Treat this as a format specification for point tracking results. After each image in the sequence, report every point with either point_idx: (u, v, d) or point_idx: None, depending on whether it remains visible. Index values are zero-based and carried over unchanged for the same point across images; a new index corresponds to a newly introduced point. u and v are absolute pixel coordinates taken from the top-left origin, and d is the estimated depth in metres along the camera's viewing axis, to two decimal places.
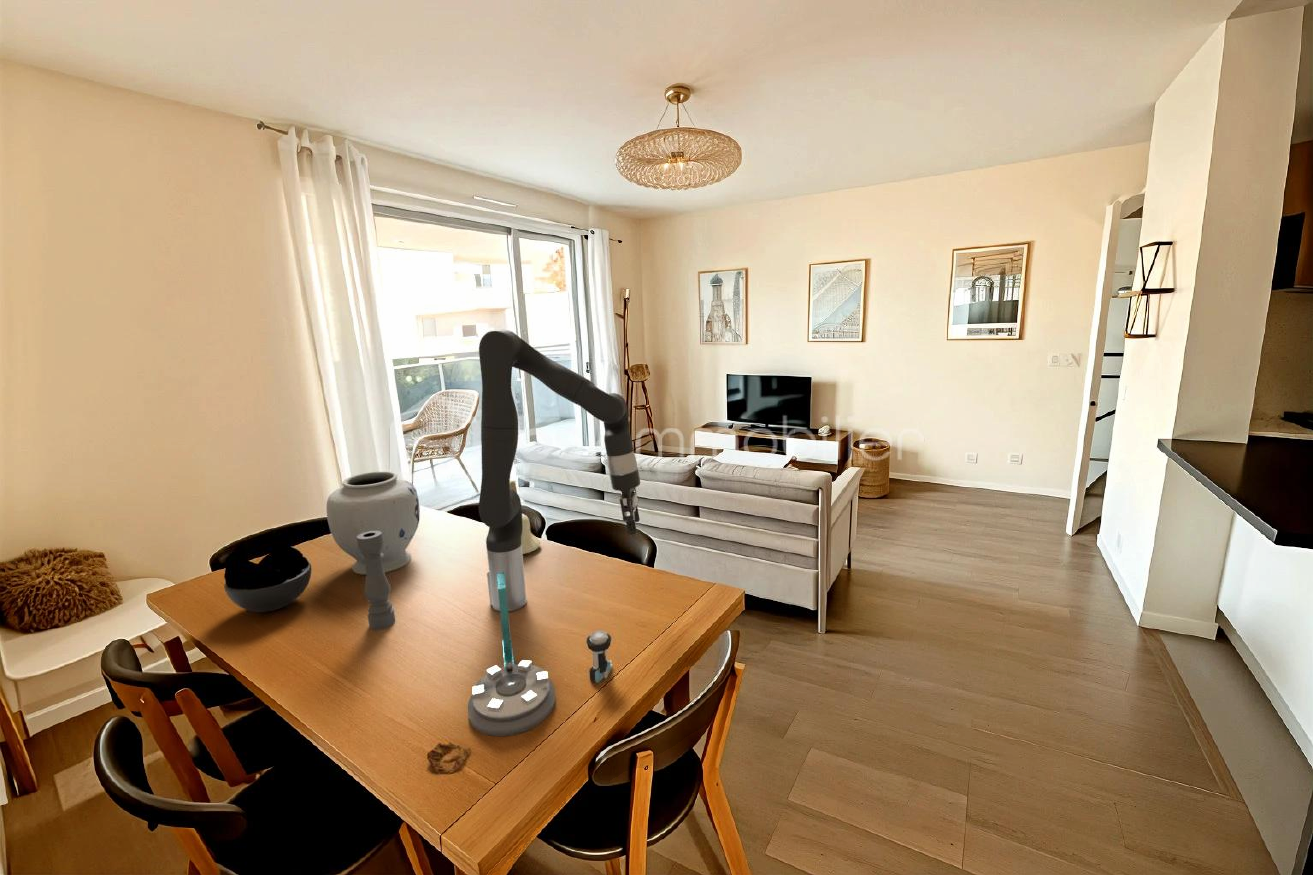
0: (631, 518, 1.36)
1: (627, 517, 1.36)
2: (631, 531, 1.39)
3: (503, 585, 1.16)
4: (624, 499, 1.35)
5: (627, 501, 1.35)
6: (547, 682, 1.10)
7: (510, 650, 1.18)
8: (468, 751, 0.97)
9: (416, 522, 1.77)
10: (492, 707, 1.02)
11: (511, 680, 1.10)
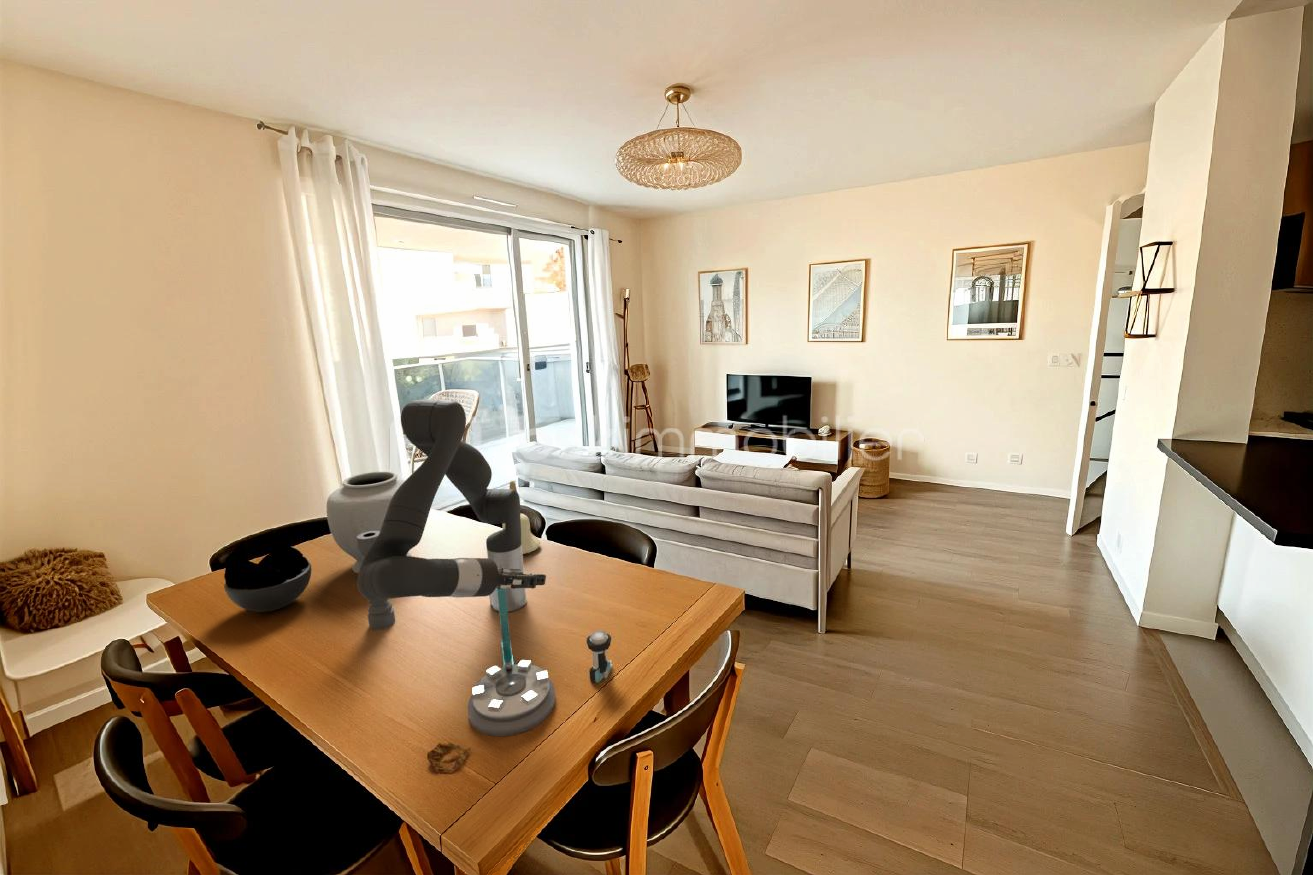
0: None
1: None
2: None
3: None
4: None
5: None
6: (547, 682, 1.10)
7: (509, 650, 1.18)
8: (468, 751, 0.97)
9: None
10: (492, 707, 1.02)
11: (511, 680, 1.10)
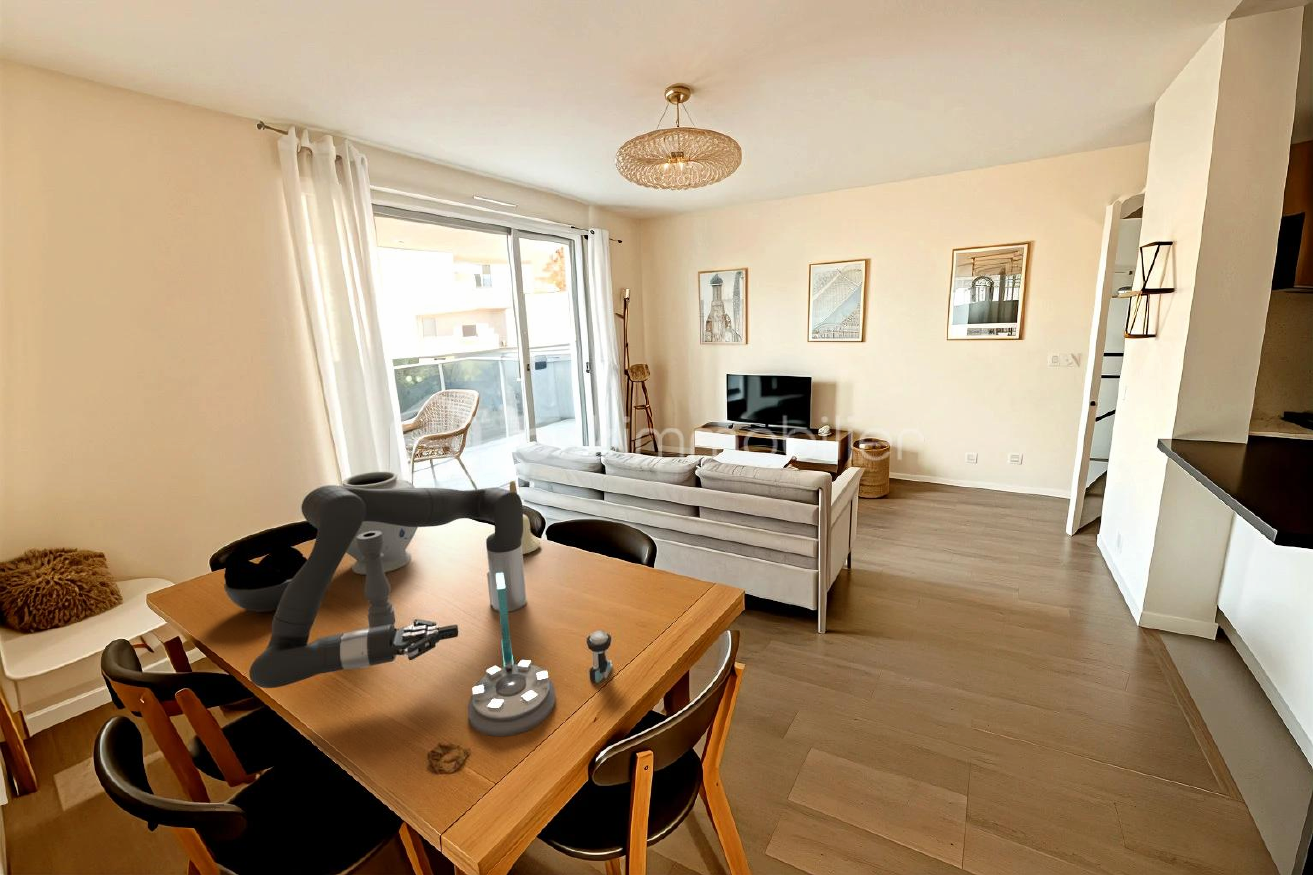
0: None
1: None
2: None
3: (502, 585, 1.16)
4: None
5: None
6: (547, 682, 1.10)
7: (509, 650, 1.18)
8: (468, 751, 0.97)
9: None
10: (492, 707, 1.02)
11: (511, 680, 1.10)
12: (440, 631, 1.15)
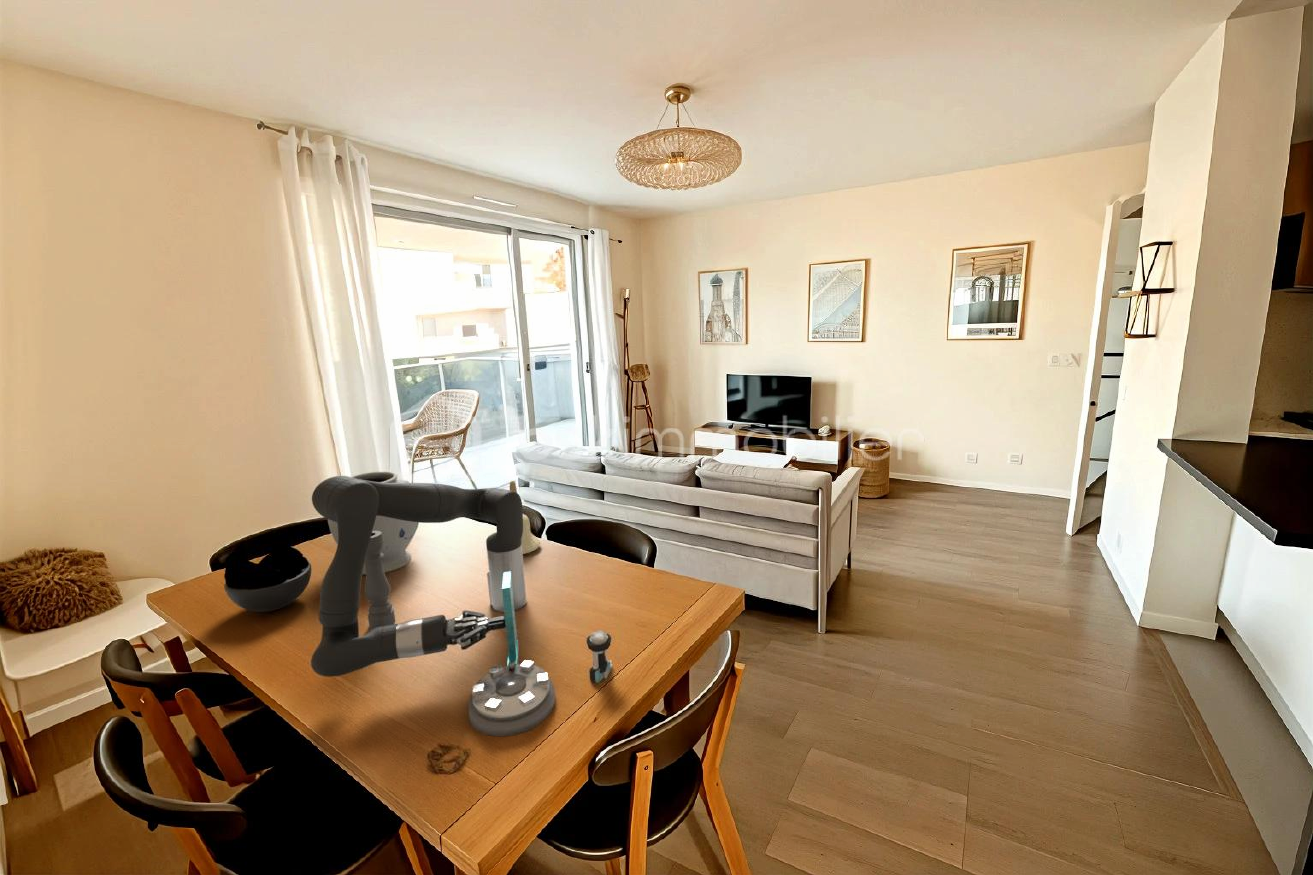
0: None
1: None
2: None
3: (508, 584, 1.16)
4: None
5: None
6: (547, 684, 1.09)
7: (514, 649, 1.18)
8: (468, 751, 0.97)
9: (416, 522, 1.77)
10: (489, 706, 1.02)
11: (511, 680, 1.10)
12: (490, 622, 1.18)
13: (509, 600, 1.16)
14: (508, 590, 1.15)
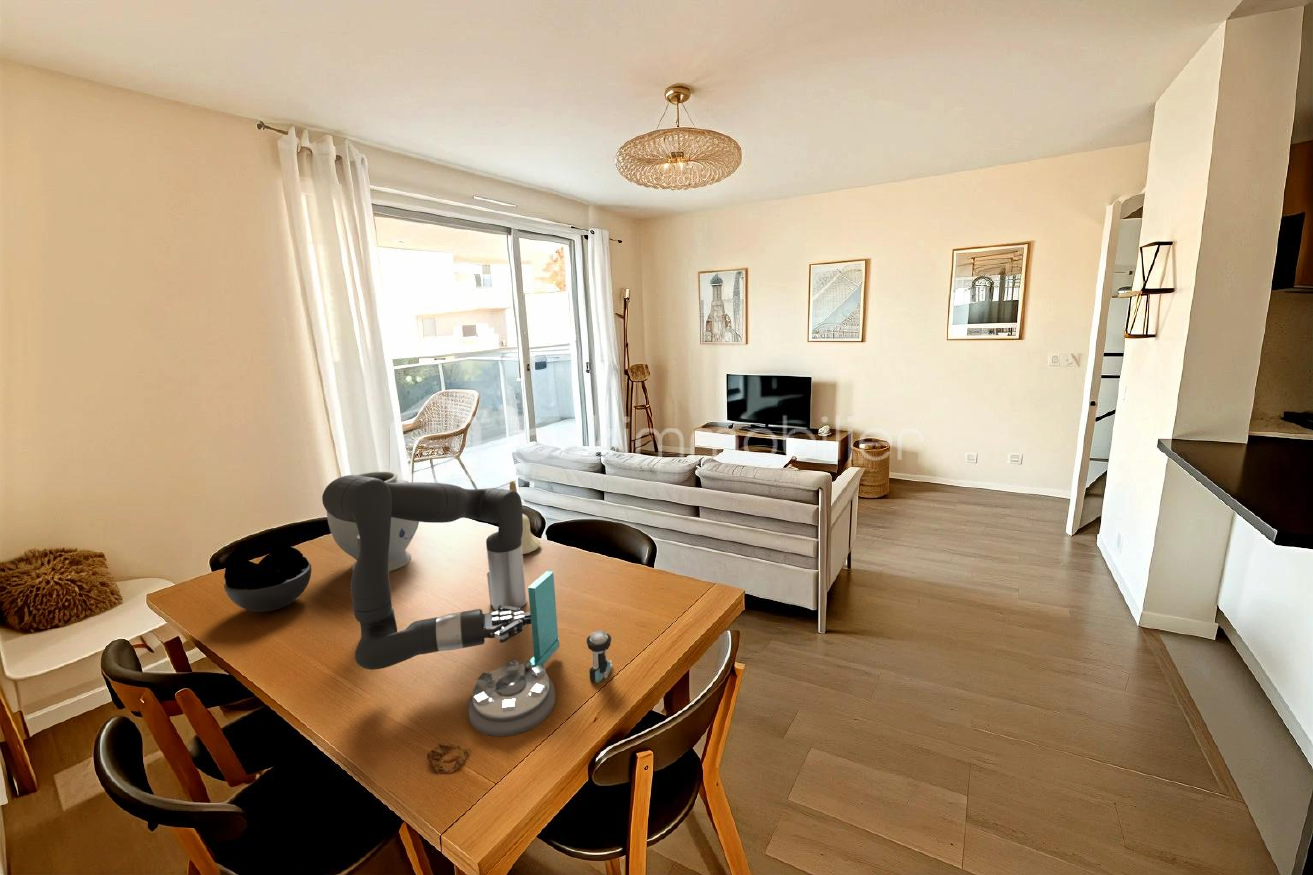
0: None
1: None
2: None
3: (536, 585, 1.16)
4: None
5: None
6: (538, 697, 1.05)
7: (538, 650, 1.18)
8: (468, 751, 0.97)
9: (416, 522, 1.77)
10: (475, 699, 1.04)
11: (513, 680, 1.09)
12: (526, 616, 1.20)
13: (534, 601, 1.15)
14: (533, 590, 1.15)
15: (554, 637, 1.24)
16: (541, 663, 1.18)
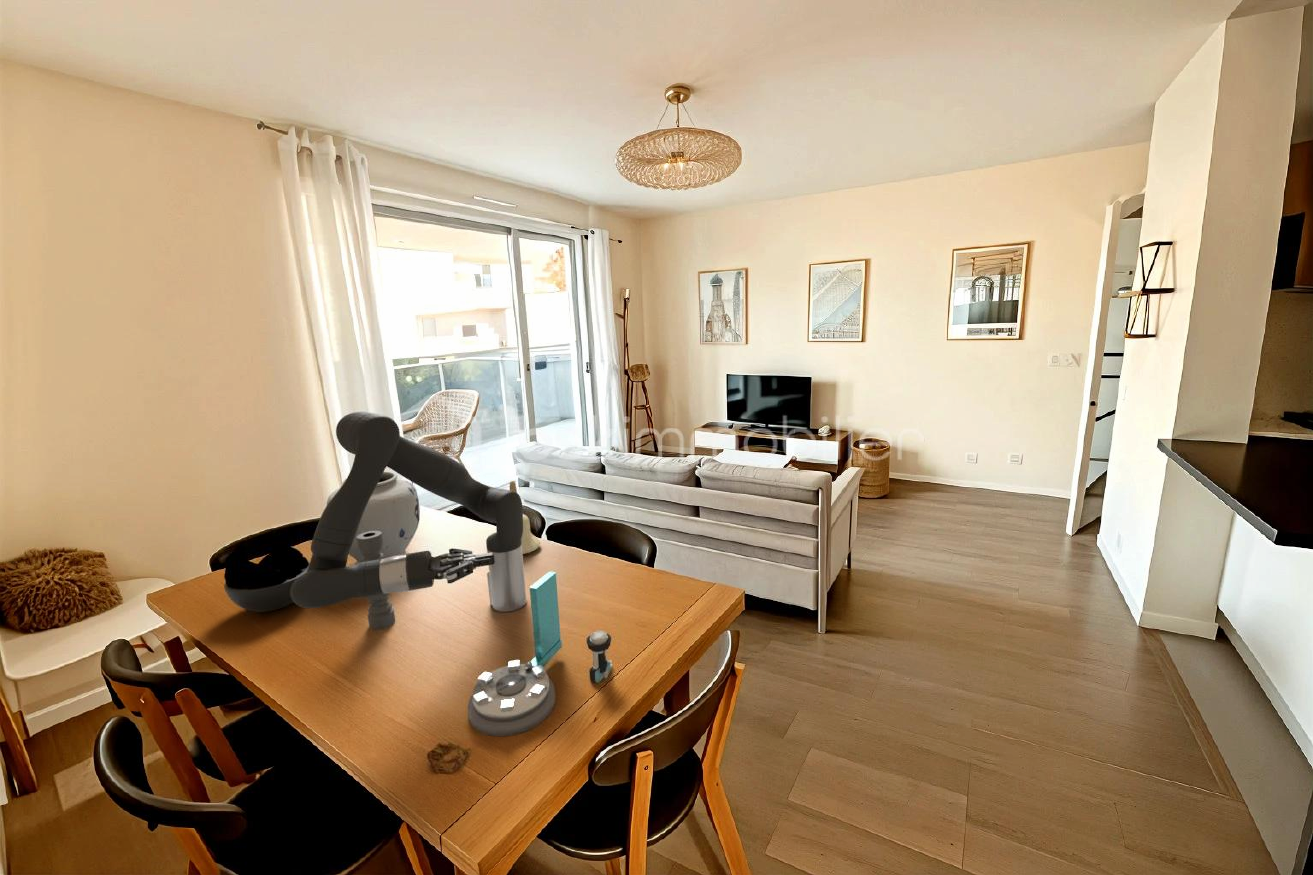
0: None
1: None
2: None
3: (537, 585, 1.16)
4: None
5: None
6: (537, 698, 1.05)
7: (540, 651, 1.17)
8: (468, 751, 0.97)
9: (416, 522, 1.77)
10: (475, 698, 1.04)
11: (513, 680, 1.09)
12: (477, 558, 1.14)
13: (535, 601, 1.15)
14: (534, 591, 1.15)
15: (556, 638, 1.23)
16: (542, 663, 1.18)
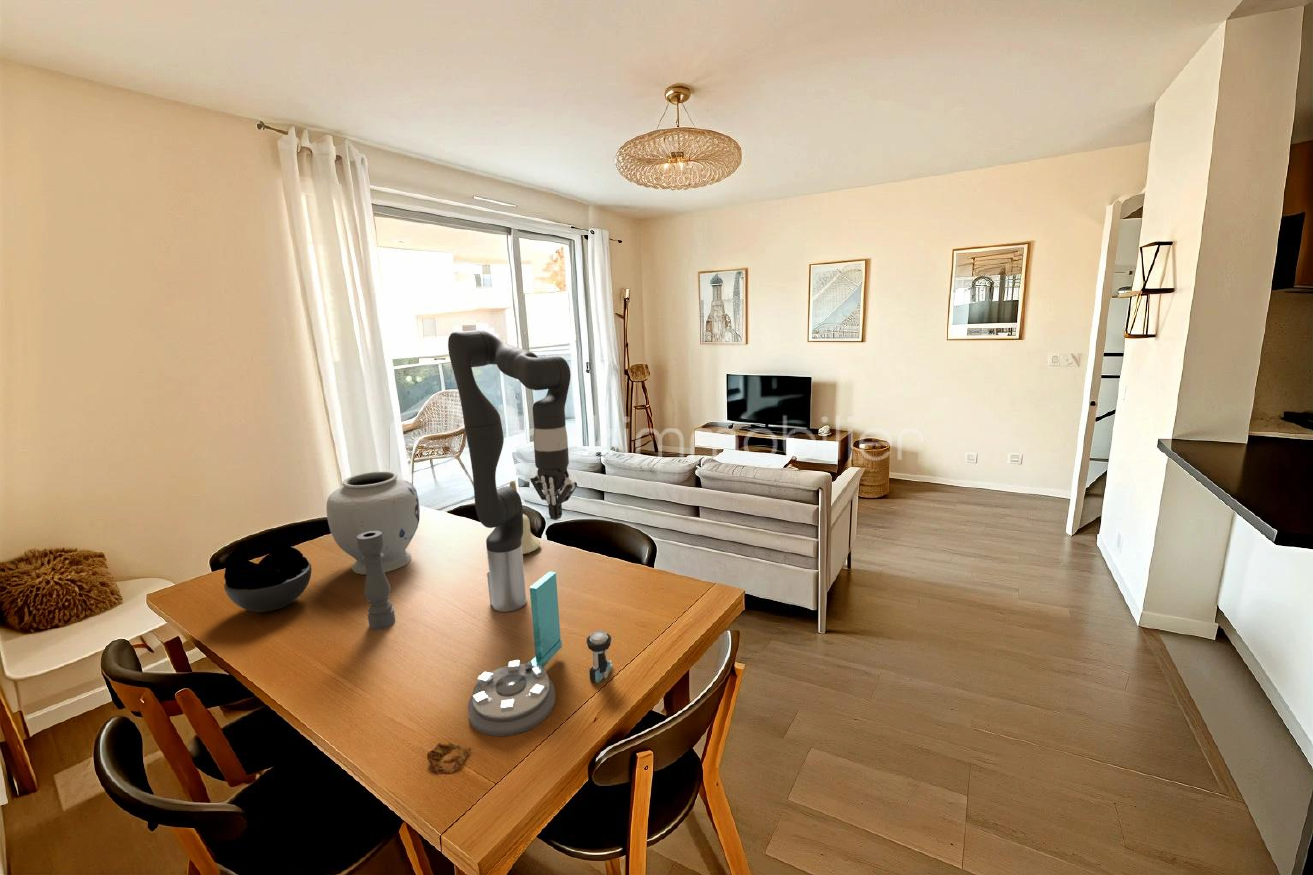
0: None
1: None
2: None
3: (537, 585, 1.16)
4: None
5: None
6: (537, 698, 1.05)
7: (540, 651, 1.17)
8: (468, 751, 0.97)
9: (416, 522, 1.77)
10: (475, 698, 1.04)
11: (513, 680, 1.09)
12: (559, 504, 1.25)
13: (535, 601, 1.15)
14: (534, 591, 1.15)
15: (556, 638, 1.23)
16: (542, 663, 1.18)
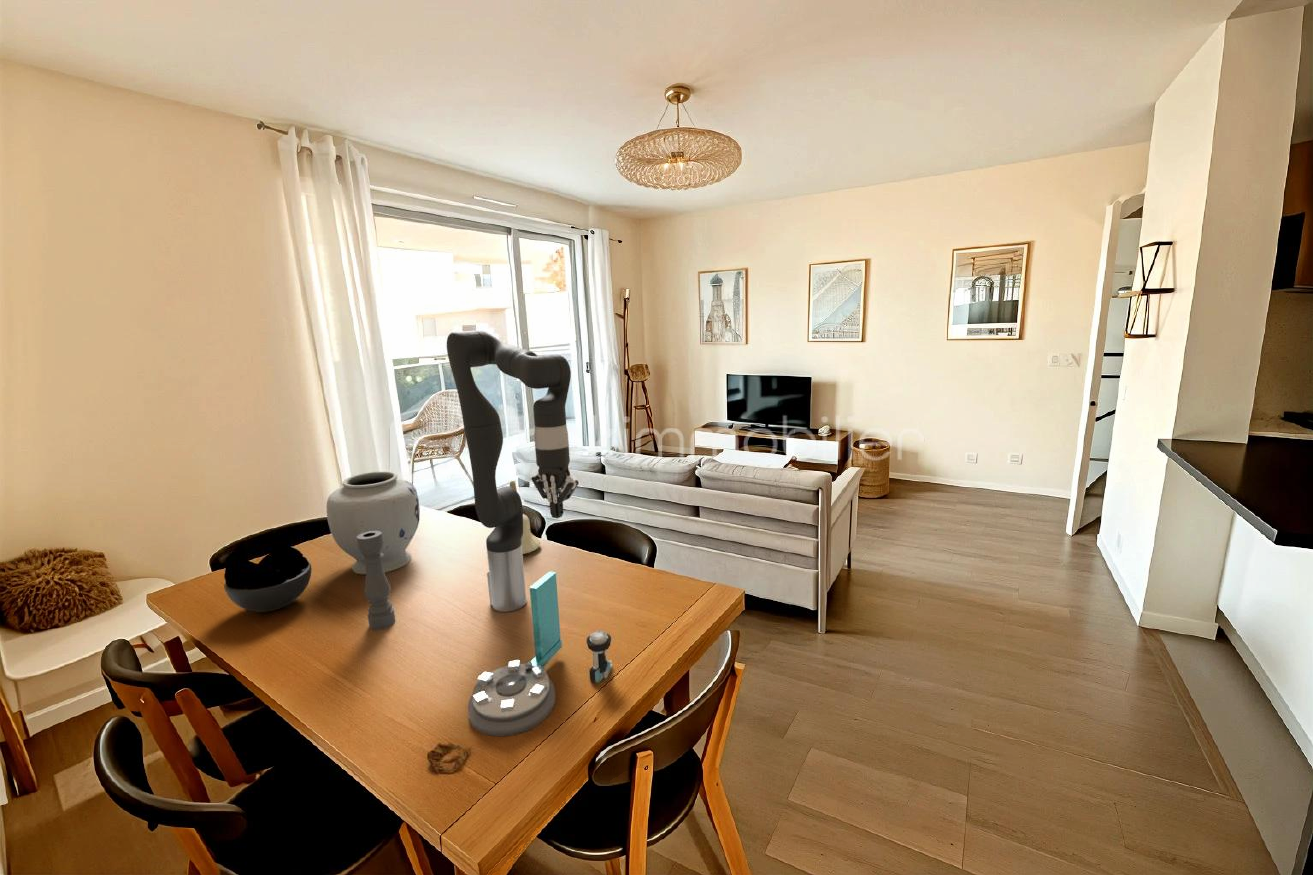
0: None
1: None
2: None
3: (537, 585, 1.16)
4: None
5: None
6: (537, 698, 1.05)
7: (540, 651, 1.17)
8: (468, 751, 0.97)
9: (416, 522, 1.77)
10: (475, 698, 1.04)
11: (513, 680, 1.09)
12: (561, 502, 1.25)
13: (535, 601, 1.15)
14: (534, 591, 1.15)
15: (556, 638, 1.23)
16: (542, 663, 1.18)
